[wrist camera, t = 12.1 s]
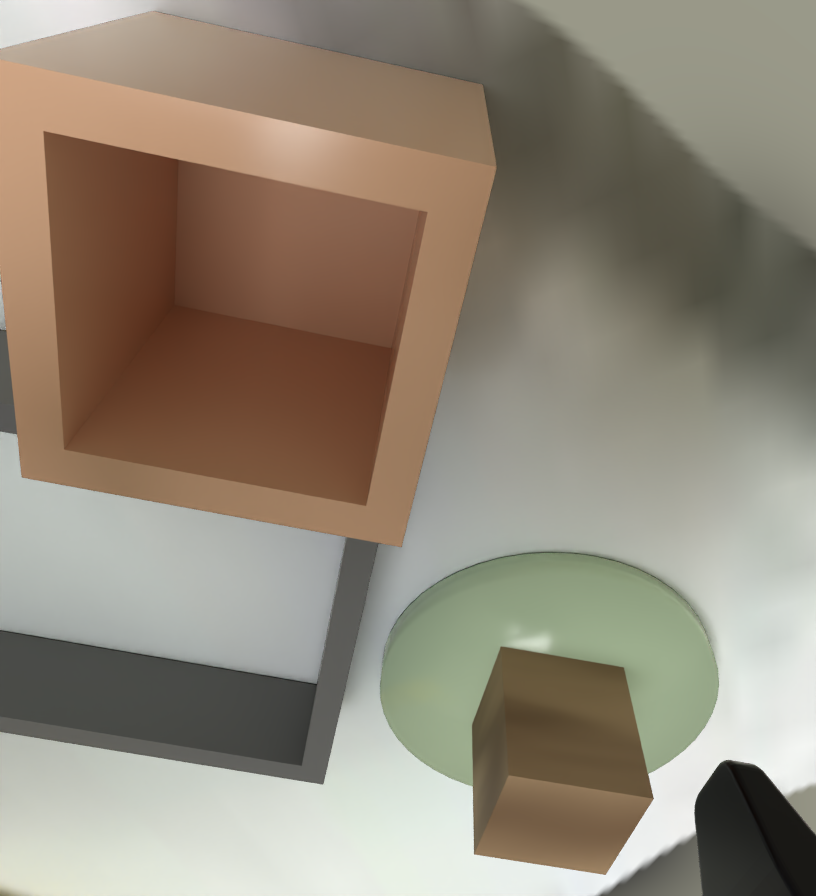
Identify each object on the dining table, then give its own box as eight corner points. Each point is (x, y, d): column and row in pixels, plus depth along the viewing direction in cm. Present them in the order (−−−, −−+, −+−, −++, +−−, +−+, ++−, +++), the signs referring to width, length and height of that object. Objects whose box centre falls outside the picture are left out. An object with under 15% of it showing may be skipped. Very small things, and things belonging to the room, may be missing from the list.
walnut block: (585, 743, 27) (605, 874, 23) (471, 724, 27) (473, 854, 23) (623, 667, 25) (653, 799, 21) (500, 645, 24) (508, 775, 21)
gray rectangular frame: (335, 703, 28) (323, 784, 25) (-197, 612, 27) (-269, 688, 24) (401, 408, 21) (393, 477, 18) (-315, 268, 20) (-435, 321, 17)
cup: (417, 371, 20) (401, 546, 14) (149, 318, 20) (21, 477, 14) (483, 84, 16) (496, 167, 11) (152, 10, 16) (-23, 54, 10)
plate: (640, 792, 30) (645, 816, 29) (359, 745, 29) (356, 769, 28) (768, 588, 24) (779, 612, 23) (417, 523, 23) (415, 545, 22)
